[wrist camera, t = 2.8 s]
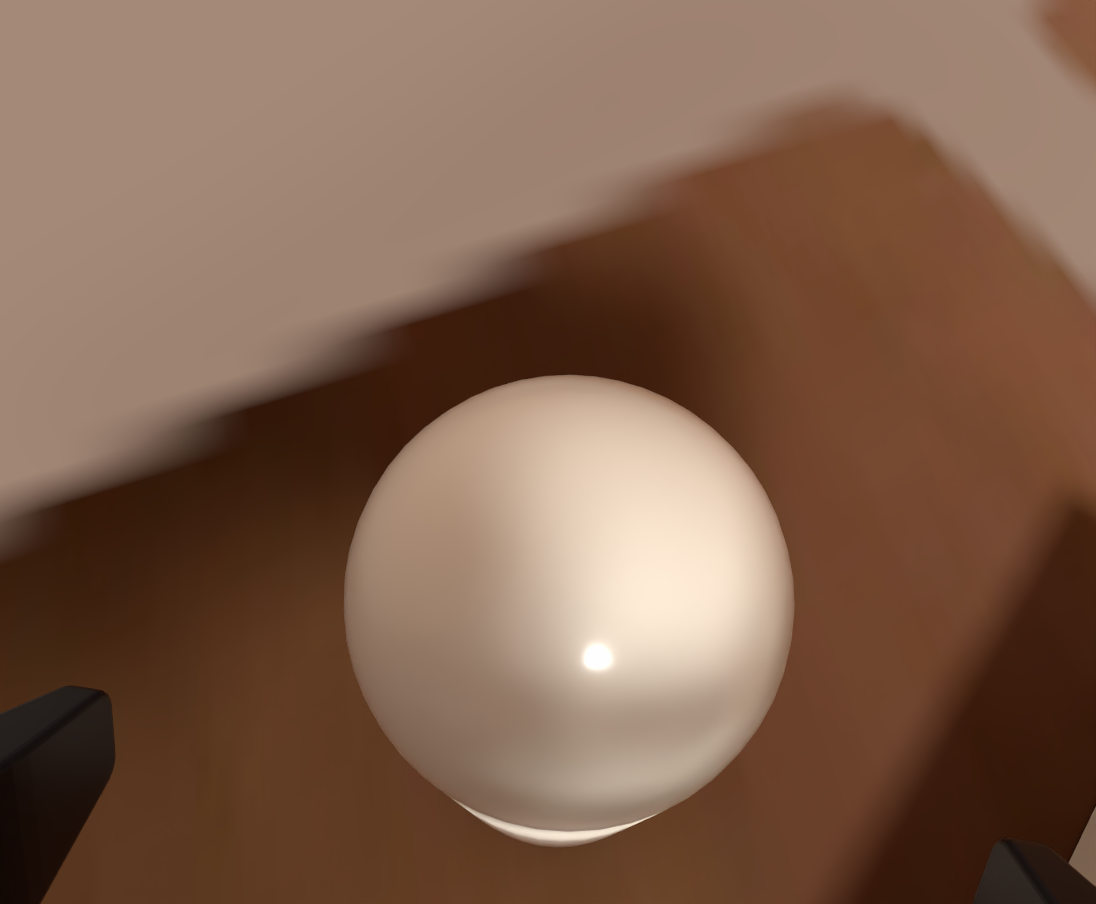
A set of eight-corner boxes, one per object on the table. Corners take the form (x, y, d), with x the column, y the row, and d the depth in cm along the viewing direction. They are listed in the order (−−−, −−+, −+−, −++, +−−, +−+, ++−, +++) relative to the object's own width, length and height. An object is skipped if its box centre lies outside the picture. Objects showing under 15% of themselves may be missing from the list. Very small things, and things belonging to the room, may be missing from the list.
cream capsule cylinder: (582, 906, 17) (640, 971, 7) (382, 734, 19) (170, 564, 8) (729, 690, 19) (959, 472, 8) (536, 546, 20) (527, 205, 10)
